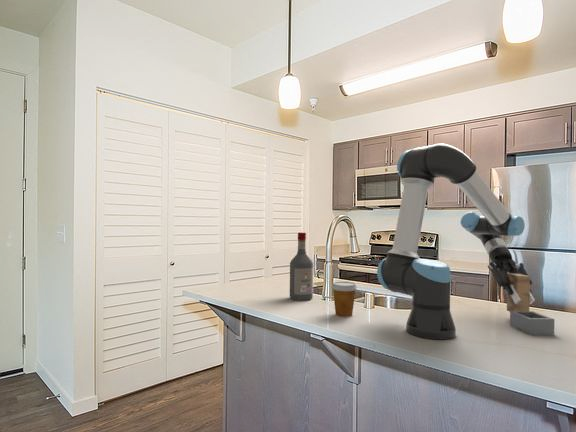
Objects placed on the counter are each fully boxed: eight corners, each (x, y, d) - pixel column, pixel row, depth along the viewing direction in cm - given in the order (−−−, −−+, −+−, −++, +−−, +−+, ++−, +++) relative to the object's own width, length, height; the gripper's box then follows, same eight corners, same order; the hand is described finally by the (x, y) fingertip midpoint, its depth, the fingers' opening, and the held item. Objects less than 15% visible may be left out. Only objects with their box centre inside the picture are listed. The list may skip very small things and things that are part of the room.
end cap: (509, 325, 132) (510, 311, 132) (532, 325, 133) (533, 311, 133) (529, 334, 122) (529, 319, 122) (554, 334, 123) (554, 319, 123)
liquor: (314, 300, 169) (315, 233, 168) (295, 301, 165) (296, 233, 165) (305, 295, 177) (306, 232, 177) (287, 297, 173) (288, 232, 173)
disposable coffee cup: (361, 314, 144) (361, 283, 144) (347, 319, 137) (347, 286, 137) (340, 310, 151) (341, 280, 151) (326, 314, 144) (326, 283, 144)
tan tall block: (506, 310, 142) (507, 273, 143) (518, 310, 143) (519, 273, 143) (517, 314, 136) (518, 275, 137) (529, 314, 137) (530, 276, 137)
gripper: (514, 258, 155) (542, 307, 139) (473, 257, 155) (496, 307, 138) (523, 246, 150) (554, 296, 134) (481, 245, 149) (506, 295, 133)
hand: (524, 301), depth 136 cm, fingers closed on tan tall block, 4 cm apart
